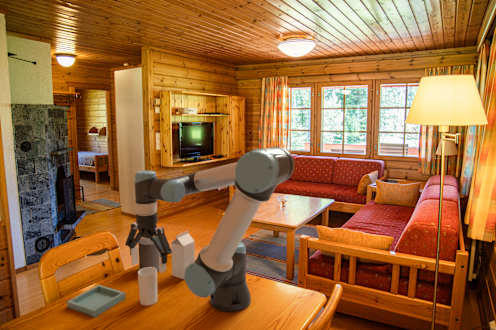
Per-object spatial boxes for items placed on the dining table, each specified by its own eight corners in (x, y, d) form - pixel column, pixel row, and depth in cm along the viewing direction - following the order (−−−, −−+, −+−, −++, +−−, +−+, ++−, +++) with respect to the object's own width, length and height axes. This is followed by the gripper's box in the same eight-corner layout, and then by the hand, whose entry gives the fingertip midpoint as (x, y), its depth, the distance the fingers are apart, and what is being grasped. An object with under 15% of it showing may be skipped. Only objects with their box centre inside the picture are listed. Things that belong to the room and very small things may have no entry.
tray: (125, 298, 133) (124, 292, 132) (94, 317, 120) (94, 311, 120) (99, 290, 139) (98, 284, 138) (67, 307, 126) (67, 301, 126)
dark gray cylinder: (134, 272, 155) (133, 240, 152) (147, 263, 164) (146, 232, 162) (154, 275, 152) (152, 242, 150) (165, 266, 161) (164, 235, 159)
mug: (153, 306, 127) (151, 275, 125) (136, 305, 128) (134, 274, 126) (164, 293, 137) (163, 264, 135) (148, 291, 138) (147, 262, 136)
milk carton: (195, 273, 153) (194, 232, 150) (184, 280, 147) (183, 237, 145) (183, 269, 157) (182, 229, 154) (172, 276, 151) (170, 234, 148)
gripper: (180, 214, 125) (181, 270, 128) (129, 206, 136) (131, 257, 139) (167, 220, 119) (168, 279, 122) (113, 210, 130) (116, 264, 133)
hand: (148, 267), depth 131 cm, fingers open, 13 cm apart
